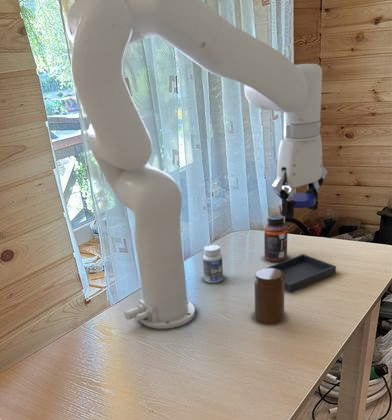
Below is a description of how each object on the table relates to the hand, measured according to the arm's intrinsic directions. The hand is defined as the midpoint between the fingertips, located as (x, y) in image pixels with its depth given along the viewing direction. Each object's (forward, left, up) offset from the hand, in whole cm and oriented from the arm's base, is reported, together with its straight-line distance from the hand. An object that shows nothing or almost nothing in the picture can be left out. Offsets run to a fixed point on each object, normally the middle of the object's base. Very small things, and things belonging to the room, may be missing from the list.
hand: (299, 212), depth 119 cm
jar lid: (0, 0, +3) cm, 3 cm away
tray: (0, 0, -16) cm, 16 cm away
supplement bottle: (+4, +12, -16) cm, 21 cm away
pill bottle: (-16, +13, -16) cm, 26 cm away
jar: (-19, -11, -16) cm, 27 cm away
